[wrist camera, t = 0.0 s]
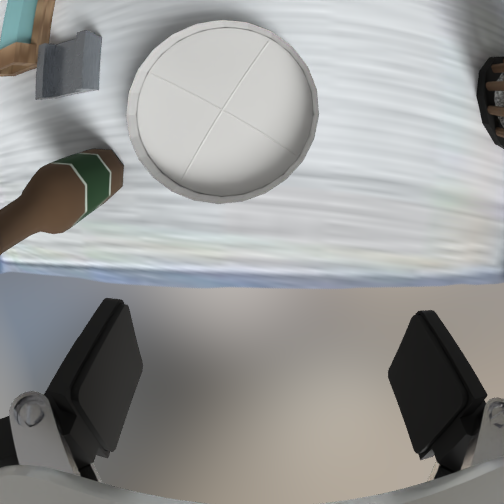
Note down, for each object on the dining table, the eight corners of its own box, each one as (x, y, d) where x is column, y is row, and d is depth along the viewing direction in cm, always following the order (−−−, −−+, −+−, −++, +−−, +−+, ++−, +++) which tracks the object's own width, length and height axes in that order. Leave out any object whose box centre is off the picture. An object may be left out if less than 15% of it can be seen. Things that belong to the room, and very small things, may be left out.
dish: (345, 88, 33) (357, 85, 28) (252, 223, 41) (252, 238, 37) (195, 4, 28) (187, -9, 23) (114, 145, 36) (96, 151, 32)
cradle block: (58, 48, 29) (38, 45, 24) (103, 36, 29) (85, 30, 24) (55, 98, 32) (35, 99, 28) (100, 89, 32) (81, 88, 28)
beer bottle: (74, 184, 38) (-45, 258, 17) (92, 136, 35) (-42, 183, 14) (114, 208, 40) (8, 305, 18) (135, 161, 37) (15, 231, 15)
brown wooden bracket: (24, 3, 23) (-5, -4, 16) (57, -12, 23) (29, -24, 16) (14, 76, 30) (-18, 77, 23) (46, 64, 30) (13, 62, 23)
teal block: (24, -3, 22) (9, -7, 18) (42, -11, 22) (27, -17, 18) (14, 61, 27) (-2, 61, 23) (31, 54, 27) (15, 53, 23)
